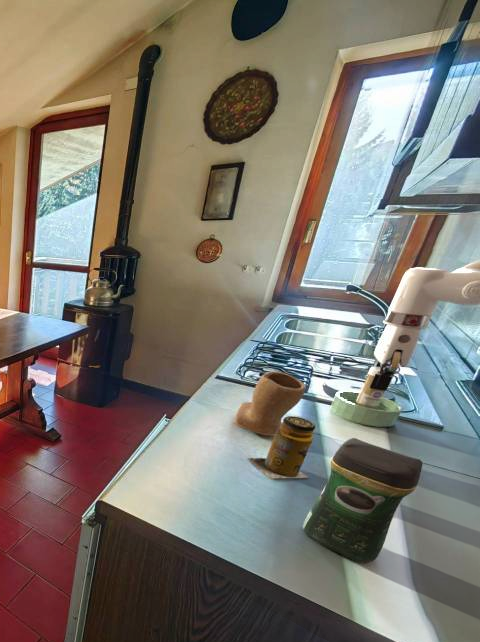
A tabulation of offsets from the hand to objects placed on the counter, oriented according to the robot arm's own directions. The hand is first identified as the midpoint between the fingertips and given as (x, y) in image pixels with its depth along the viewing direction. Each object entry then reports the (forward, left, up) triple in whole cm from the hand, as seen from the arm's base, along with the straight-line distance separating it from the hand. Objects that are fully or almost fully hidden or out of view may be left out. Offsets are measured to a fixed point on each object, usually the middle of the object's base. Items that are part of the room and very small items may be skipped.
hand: (375, 385), depth 105 cm
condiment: (+20, +44, -10) cm, 49 cm away
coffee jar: (+12, +64, -10) cm, 66 cm away
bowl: (0, 0, -10) cm, 10 cm away
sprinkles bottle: (0, 0, -9) cm, 9 cm away
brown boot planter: (+23, +23, -10) cm, 34 cm away
